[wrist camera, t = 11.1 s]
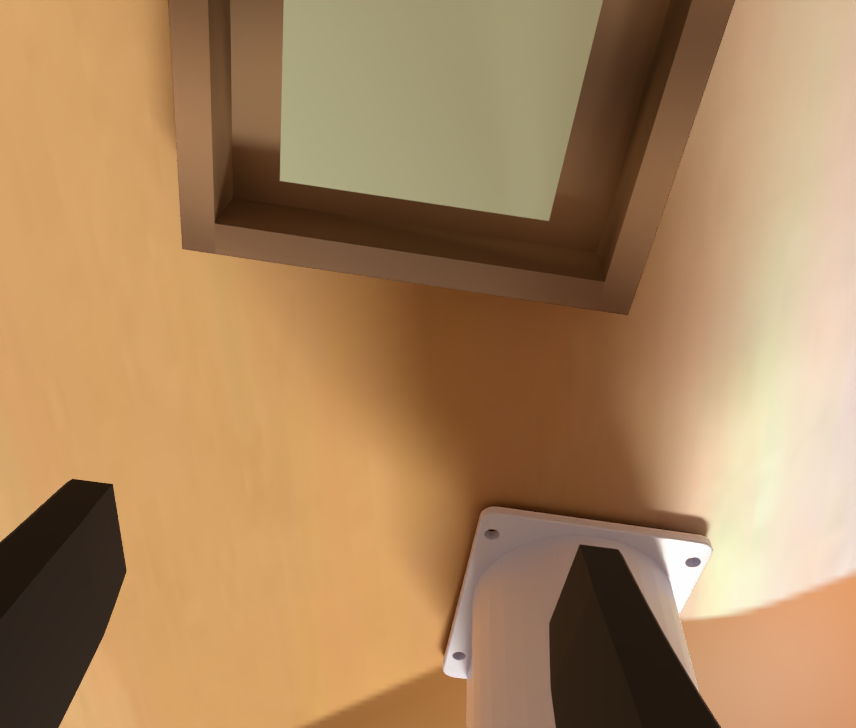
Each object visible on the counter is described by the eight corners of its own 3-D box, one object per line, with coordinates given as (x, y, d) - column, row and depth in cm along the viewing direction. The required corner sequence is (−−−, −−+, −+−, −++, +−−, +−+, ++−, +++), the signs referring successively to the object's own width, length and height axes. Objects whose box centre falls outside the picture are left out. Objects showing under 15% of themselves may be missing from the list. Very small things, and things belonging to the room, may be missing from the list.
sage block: (528, 116, 17) (548, 221, 12) (336, 87, 17) (279, 180, 12) (575, -110, 15) (625, -94, 10) (351, -147, 15) (287, -149, 10)
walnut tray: (614, 273, 20) (627, 315, 18) (209, 212, 20) (182, 248, 18) (800, -316, 13) (851, -344, 11) (188, -425, 13) (142, -470, 11)
